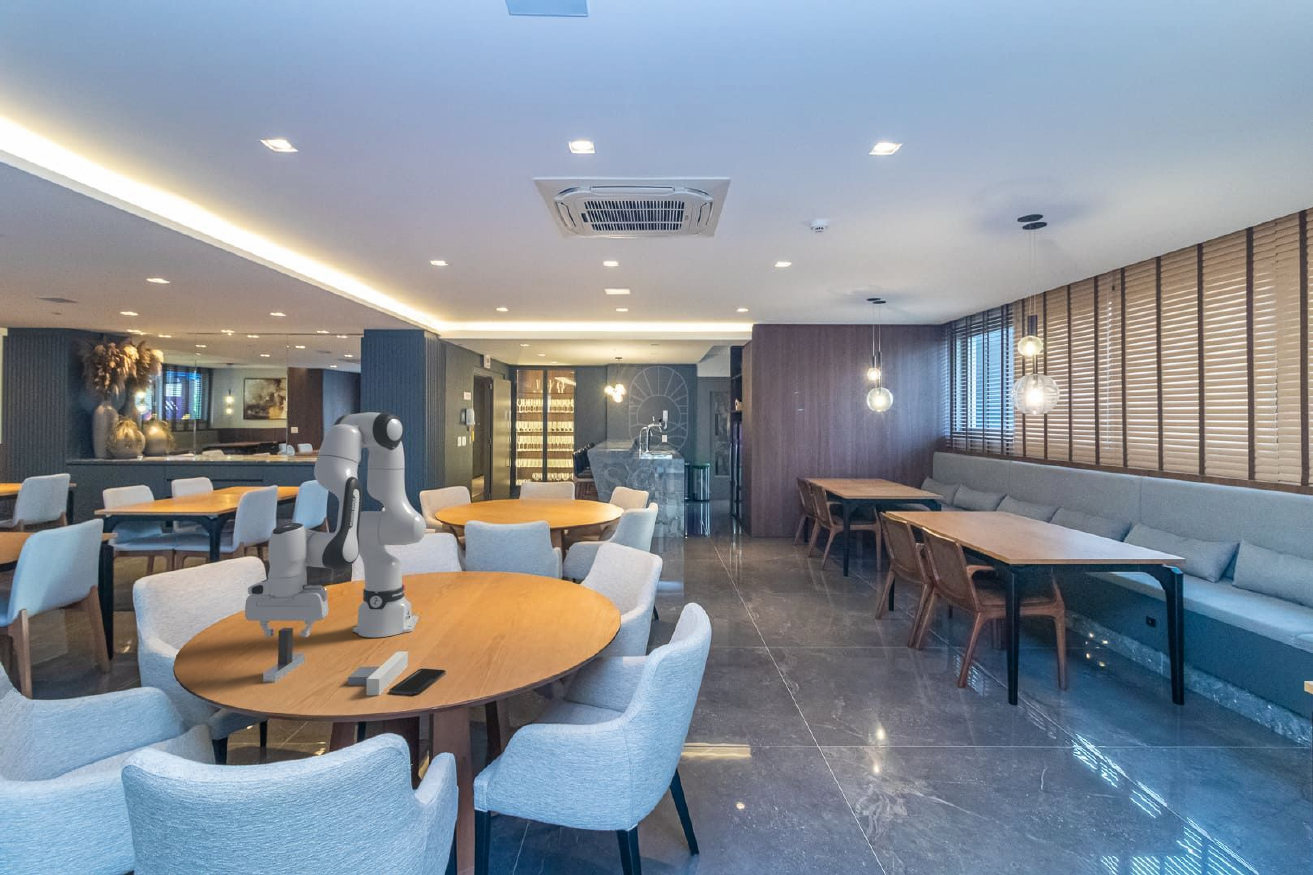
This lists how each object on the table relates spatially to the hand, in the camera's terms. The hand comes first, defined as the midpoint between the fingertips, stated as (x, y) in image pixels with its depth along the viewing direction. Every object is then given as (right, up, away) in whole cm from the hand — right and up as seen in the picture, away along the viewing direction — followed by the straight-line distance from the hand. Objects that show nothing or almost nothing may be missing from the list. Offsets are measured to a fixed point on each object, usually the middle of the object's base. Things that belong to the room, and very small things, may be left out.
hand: (287, 636), depth 160 cm
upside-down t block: (0, -9, -1) cm, 9 cm away
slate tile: (+24, -10, -5) cm, 27 cm away
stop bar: (+30, -10, -5) cm, 31 cm away
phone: (+38, -10, -7) cm, 40 cm away
